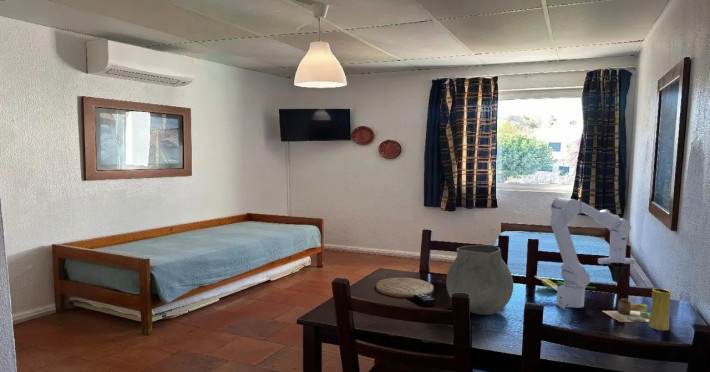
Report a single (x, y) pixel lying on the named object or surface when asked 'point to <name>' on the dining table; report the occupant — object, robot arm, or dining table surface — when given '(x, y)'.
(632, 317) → the tuner board
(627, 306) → the knob
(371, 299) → the dining table surface
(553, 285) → the decorative flower
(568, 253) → the robot arm
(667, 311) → the vase
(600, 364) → the dining table surface
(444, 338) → the dining table surface
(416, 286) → the trivet
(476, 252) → the ceramic pot
